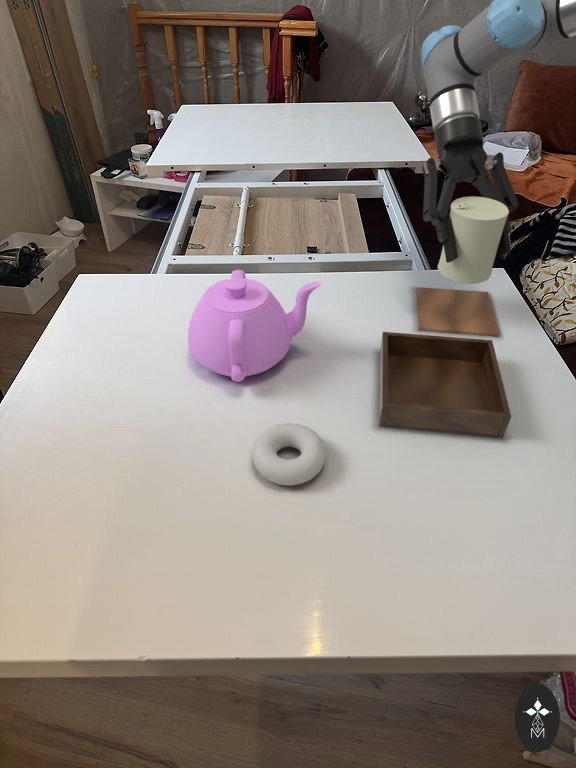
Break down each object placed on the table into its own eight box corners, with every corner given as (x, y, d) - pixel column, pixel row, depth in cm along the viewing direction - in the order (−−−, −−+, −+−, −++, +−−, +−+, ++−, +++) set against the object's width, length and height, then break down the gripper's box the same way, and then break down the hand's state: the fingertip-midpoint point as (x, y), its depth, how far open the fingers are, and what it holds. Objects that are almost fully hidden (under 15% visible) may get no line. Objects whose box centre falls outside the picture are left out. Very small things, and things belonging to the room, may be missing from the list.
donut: (336, 478, 71) (309, 426, 78) (338, 462, 69) (310, 410, 75) (265, 500, 68) (243, 444, 75) (265, 484, 66) (242, 427, 73)
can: (433, 257, 98) (446, 192, 90) (484, 258, 97) (501, 193, 89) (442, 283, 91) (457, 216, 83) (496, 284, 91) (517, 217, 83)
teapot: (324, 393, 83) (329, 320, 74) (184, 398, 82) (171, 325, 73) (312, 313, 99) (314, 246, 90) (195, 317, 99) (186, 249, 89)
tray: (485, 361, 89) (492, 340, 86) (502, 438, 76) (511, 416, 73) (379, 352, 91) (382, 331, 88) (378, 426, 78) (382, 405, 75)
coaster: (487, 294, 104) (488, 291, 104) (498, 336, 94) (499, 334, 94) (414, 289, 106) (415, 286, 105) (418, 330, 95) (418, 328, 95)
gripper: (502, 133, 95) (523, 257, 94) (388, 142, 92) (409, 270, 91) (527, 109, 88) (550, 243, 87) (404, 118, 84) (427, 257, 83)
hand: (478, 256), depth 89 cm, fingers closed on can, 9 cm apart
